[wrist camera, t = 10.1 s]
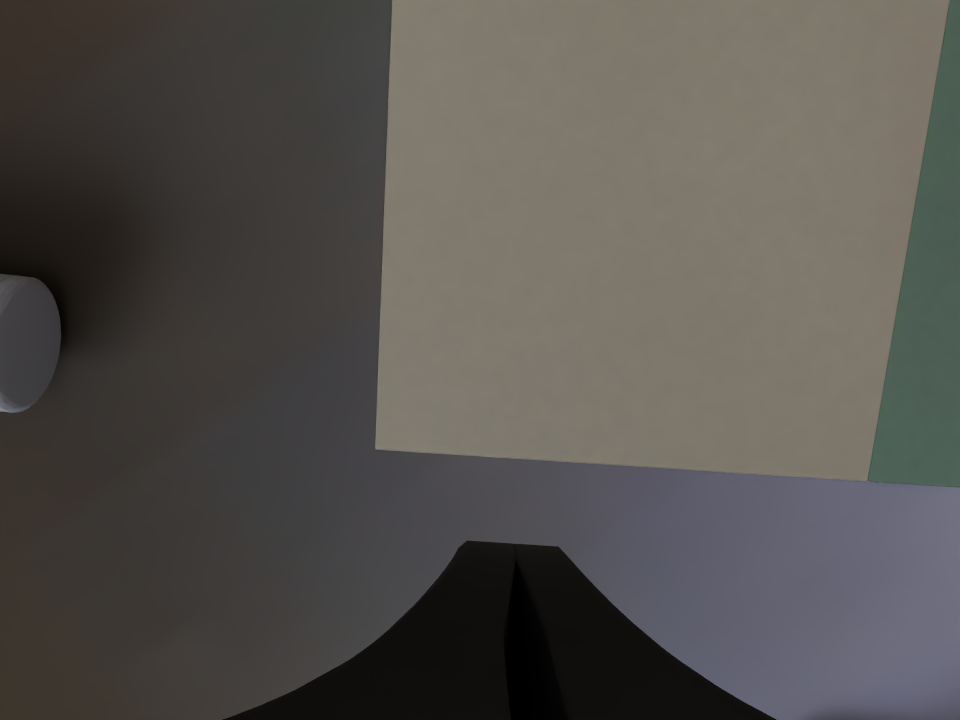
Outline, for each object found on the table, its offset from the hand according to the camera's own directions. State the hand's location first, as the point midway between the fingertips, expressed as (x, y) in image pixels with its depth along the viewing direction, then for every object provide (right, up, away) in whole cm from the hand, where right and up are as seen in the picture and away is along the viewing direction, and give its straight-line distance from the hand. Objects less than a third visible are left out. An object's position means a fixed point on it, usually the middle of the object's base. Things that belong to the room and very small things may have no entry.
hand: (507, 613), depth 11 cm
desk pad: (+9, +7, +8) cm, 14 cm away
